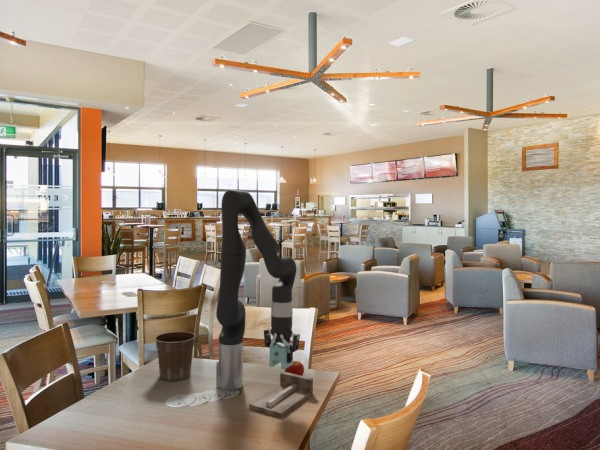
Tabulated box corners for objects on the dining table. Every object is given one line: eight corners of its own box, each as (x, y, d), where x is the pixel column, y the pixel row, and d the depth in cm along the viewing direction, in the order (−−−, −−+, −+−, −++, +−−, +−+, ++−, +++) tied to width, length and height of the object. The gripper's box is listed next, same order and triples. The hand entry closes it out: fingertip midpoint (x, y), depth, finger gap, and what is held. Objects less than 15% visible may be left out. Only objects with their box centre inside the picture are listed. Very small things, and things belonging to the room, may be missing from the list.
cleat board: (249, 408, 151) (249, 391, 151) (282, 386, 170) (283, 371, 170) (281, 417, 145) (281, 399, 144) (312, 394, 164) (312, 378, 164)
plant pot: (159, 368, 187) (159, 331, 187) (197, 368, 189) (198, 330, 189) (150, 383, 171) (150, 342, 171) (192, 382, 173) (193, 341, 172)
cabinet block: (268, 366, 154) (268, 347, 154) (278, 361, 160) (278, 342, 160) (282, 370, 151) (283, 349, 151) (292, 364, 157) (293, 344, 157)
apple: (294, 375, 182) (294, 356, 182) (308, 380, 177) (308, 361, 177) (280, 380, 177) (280, 361, 177) (294, 385, 171) (294, 366, 171)
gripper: (258, 313, 156) (258, 360, 156) (294, 318, 149) (293, 368, 149) (270, 309, 162) (270, 354, 163) (304, 314, 155) (304, 361, 156)
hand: (281, 360), depth 156 cm, fingers closed on cabinet block, 6 cm apart
